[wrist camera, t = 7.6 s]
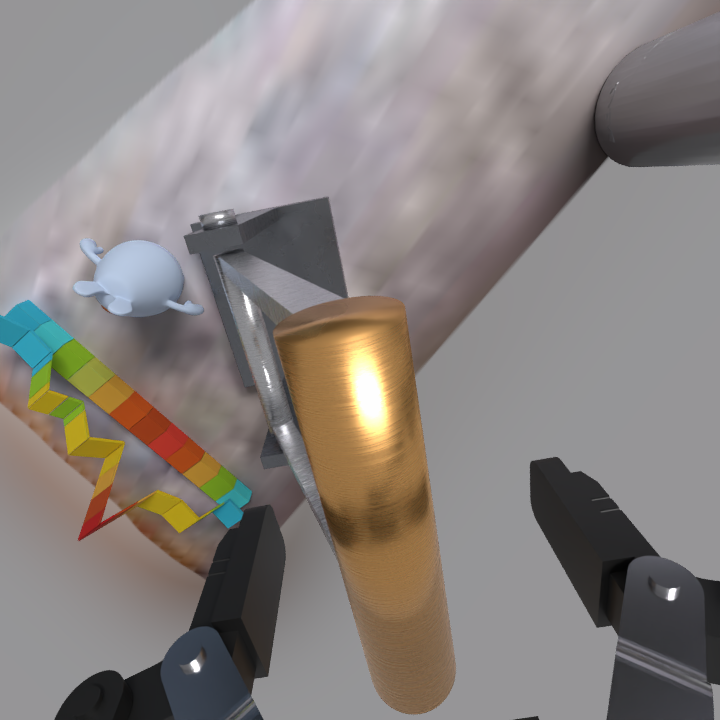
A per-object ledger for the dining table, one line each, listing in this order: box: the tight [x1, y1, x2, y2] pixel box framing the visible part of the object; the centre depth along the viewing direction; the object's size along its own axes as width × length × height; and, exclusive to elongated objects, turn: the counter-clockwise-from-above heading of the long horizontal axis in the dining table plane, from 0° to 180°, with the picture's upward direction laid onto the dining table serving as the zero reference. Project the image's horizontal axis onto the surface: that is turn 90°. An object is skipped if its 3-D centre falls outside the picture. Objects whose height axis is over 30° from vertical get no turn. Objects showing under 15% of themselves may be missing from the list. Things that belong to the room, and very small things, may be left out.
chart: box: [0, 300, 252, 541], centre depth 38 cm, size 30×3×15 cm, turn 38°
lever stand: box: [184, 197, 348, 469], centre depth 33 cm, size 12×18×16 cm
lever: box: [213, 249, 456, 714], centre depth 19 cm, size 3×13×20 cm, turn 12°
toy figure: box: [73, 238, 204, 317], centre depth 33 cm, size 11×6×12 cm, turn 55°
